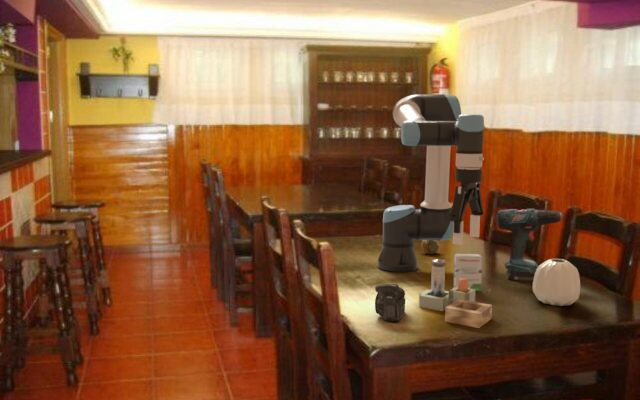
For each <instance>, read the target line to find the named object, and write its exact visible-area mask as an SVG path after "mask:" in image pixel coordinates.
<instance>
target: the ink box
mask: <svg viewBox="0 0 640 400" xmlns="http://www.w3.org/2000/svg"><path fill="white" fill-rule="evenodd" d="M453 258H454V259H453V288H454V287H456V286H458V280H459V278H466V279H468V288H470V289H476V291H475V292H482V285H483V283H482V281H483V278H482V277H483V257H482V256H481V254H480V253H454V255H453Z"/></svg>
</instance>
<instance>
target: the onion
mask: <svg viewBox="0 0 640 400" xmlns="http://www.w3.org/2000/svg"><path fill="white" fill-rule="evenodd" d="M420 247H421V249H422V251H423V252H424V253H426V254H430V255H434V254H436V253H437V252H439V250H440V244H439V241H437V240H421V245H420Z"/></svg>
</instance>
